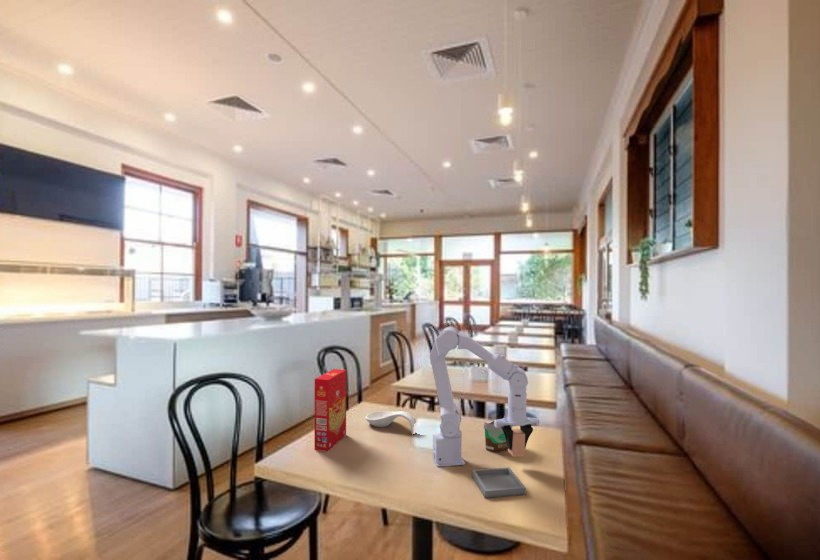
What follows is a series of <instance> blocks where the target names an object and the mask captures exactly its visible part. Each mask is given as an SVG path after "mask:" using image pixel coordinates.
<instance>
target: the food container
mask: <svg viewBox="0 0 820 560" xmlns="http://www.w3.org/2000/svg"><path fill="white" fill-rule="evenodd" d="M507 417H508V415H504V416H503V418H507ZM511 428H512V429H513V426H511ZM483 430H484V437H485V438H484V439H485V440H484V441H485V451H488V452H492V453H503V452H506V451H508V447H507V442H506V438H505V435H504V432H503V430H502V428H501V427H499V428H496V427H495V426H494V420H493V421H491V422H490V423H487V422H484V424H483Z"/></svg>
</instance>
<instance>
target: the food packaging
mask: <svg viewBox="0 0 820 560" xmlns="http://www.w3.org/2000/svg"><path fill="white" fill-rule="evenodd" d="M345 436H347V369H341V368H333V369H331V370H329V371H327V372H325V373H324V374H321V375H319V376H317V377H315V378H314V450H315V451H323V452H330V450H331V449H332V448H334V447H335V445H337V444H338V443H339V442H340V441H341V440H342V439H343V438H344V437H345Z"/></svg>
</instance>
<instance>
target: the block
mask: <svg viewBox="0 0 820 560" xmlns="http://www.w3.org/2000/svg"><path fill="white" fill-rule="evenodd" d="M512 430H513V431H514V432H513V437H512V450H509V449H508V450H507V451H508V453H509V454H510V455H511V456H512V457H524V456H525V455H526V448H525V433H524V432H523V431H521V430H520V428H516V429H513V428H512Z"/></svg>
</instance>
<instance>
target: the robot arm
mask: <svg viewBox="0 0 820 560" xmlns="http://www.w3.org/2000/svg"><path fill="white" fill-rule="evenodd" d="M456 347H457V350H466V351H467V350H468V351H469V352H471V353H472V354H474V355H475V356H476V357H478V358H479V359H482V360H483V361H484V362H486V363H487V368H488V370H490V371H492V372H493V373H495V374H496V375H497V376H499V377H500V378H501V379H503V380H505V381H508V392H507V418H504V417H503V418H498V419H494V420H493V421H494V426H495V427H496V428H499V427H501V428H502V430H503V432H504V435H505V438H506V442H507V447H508V449H509V450H512V437H513V432H514V431H513V430H512V429H513V427H519V429H520V430H521V431H523V432H524V433H525V449H526V447H527V444H528V440H529V438H530V437H531V435H532V434H533V432H534V427H532V426H536V427H540V419H538V418H537V417H528V416H527V395H528V394H527V387H528V384H529V381H528V377H527V373H526V371H524V369H523V368H522V367H520V366H519V365H518V364H516V363H515V364H514V363H512V362H511V361H509V360H508V359H507V358H506V355H504V354H499V353H491V352H490V351H489V350H487V349H486V348H485V347H484V346H482V345H481V344H480V343H478V341H476V340H475V339H474V338H472V337H471V336H469V335H468V334H466V333H465V332H464V331H462V330H458V328H456V327H455V326H450V325H449V326H446V327H445V328H443V330H442V331H441V332H440V333H438V336H437V337H436V338H435V341H434V343H433V346H432V349H431V350H430V353H429V359H430V364H431V369H432V374H433V378H434V383H435V387H436V392H437V394H436V395H437V397H438V402H439V406H440V408H439V409H440V419H441V421H440V422H441V423H440V426H439V429H440V431H439V432H438V433H435V434H433V435H432V459H433V460H434V463H435V466H436V467H449V466H450V467H453V466H465V465H466V462H465V461H464V459H463V457H462V453H463V452H462V450H463V449H462V446H463V445H462V441H463V440H462V439H463V435H462V434H463V433H462V431H461V429H460V426H461V423H462V415H461V414H460V412H459V411H458V409H457V406H456V403H455V400H454V396H453V391H452V385H451V382H450V381H451V380H450V376H449V372H448V366H447V361H446V356H447V355H448V353H449V352H450V351H452V350H453V349H455V348H456ZM511 426H512V428H511Z"/></svg>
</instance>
